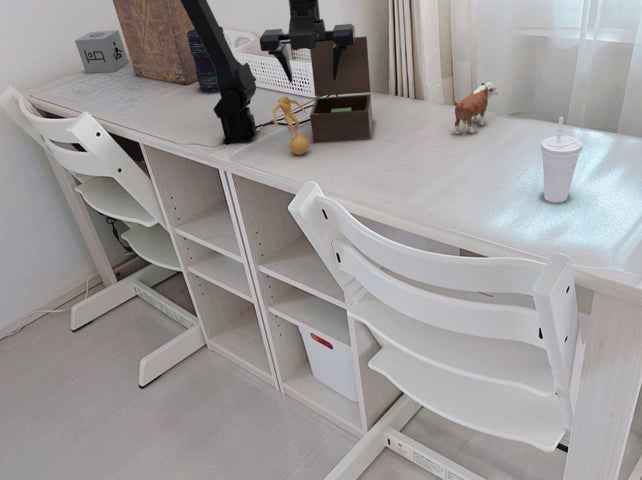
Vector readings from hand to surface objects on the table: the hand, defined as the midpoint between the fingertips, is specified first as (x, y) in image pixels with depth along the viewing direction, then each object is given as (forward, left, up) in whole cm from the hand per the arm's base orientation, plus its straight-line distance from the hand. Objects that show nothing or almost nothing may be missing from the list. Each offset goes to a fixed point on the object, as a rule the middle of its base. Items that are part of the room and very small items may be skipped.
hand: (313, 80), depth 127 cm
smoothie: (+44, -34, -12) cm, 57 cm away
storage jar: (-34, +40, -12) cm, 54 cm away
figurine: (-4, -8, -12) cm, 15 cm away
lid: (+5, +8, 0) cm, 9 cm away
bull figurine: (+34, 0, -12) cm, 36 cm away
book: (-52, +55, -12) cm, 77 cm away
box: (+5, +2, -12) cm, 13 cm away
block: (+5, 0, -12) cm, 13 cm away
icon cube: (-79, +70, -12) cm, 106 cm away
